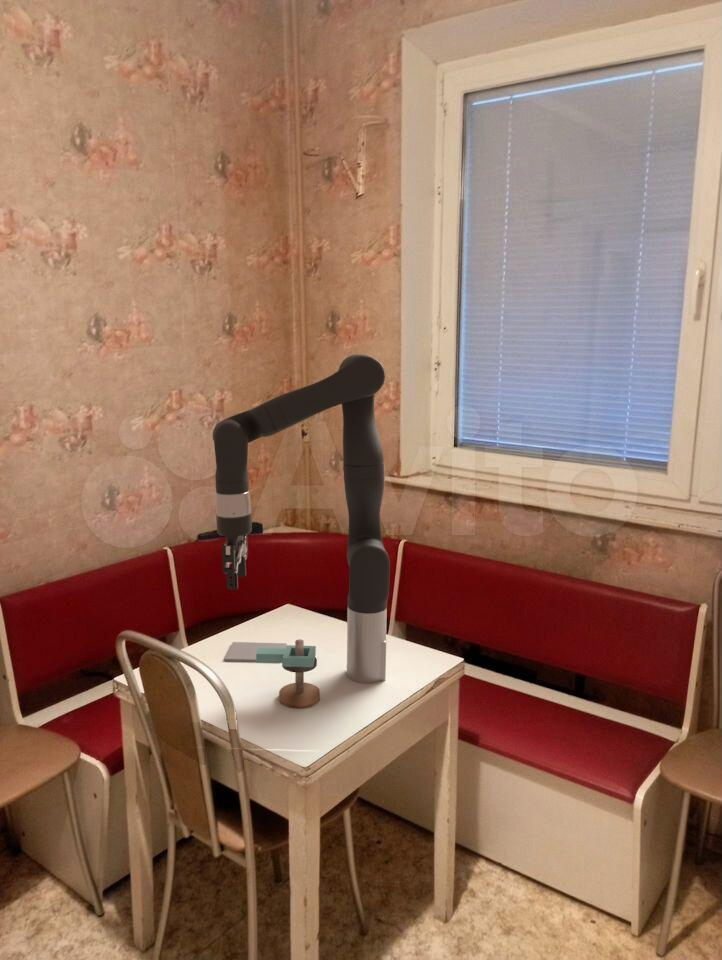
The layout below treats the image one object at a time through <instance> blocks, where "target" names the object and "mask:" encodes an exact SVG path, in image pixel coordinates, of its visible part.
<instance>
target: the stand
mask: <svg viewBox="0 0 722 960" xmlns="http://www.w3.org/2000/svg"><path fill="white" fill-rule="evenodd" d="M294 644H295V656H304V646H305V642H304V640H303V639H296V640H295V643H294ZM317 661H318V659H317V657H316V656H315V660H314V665H313V667H283V663H281V665H282V666H281V667H282V668H283V670H285V671H288V672H290V673H295V674H294V675H295V676H294V677H295V678H294V679H295V680H294V681H295V682H293V683H292V682H291V683H288V684H286V685H284V686H282V687H281V688H280V690H279V692H278V701H279V703H280V704H281V705H283V706H285V707H287V708H290V709H297V710H298V709H306V708H311V707H313V706H315V705H317V704H319V702H320V699H321V691H320V689H319V687H318V686H316V685H315V684H314V683H313V684H312V683H309V682H304V679H305V678H304V676H305V675H304V674H305V673H306V672H309V671H313V670H314V669H315V668H317V666H318V662H317Z"/></svg>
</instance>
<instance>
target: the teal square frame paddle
mask: <svg viewBox="0 0 722 960" xmlns="http://www.w3.org/2000/svg"><path fill="white" fill-rule="evenodd" d="M316 647H317V646H316V645H304V656H295V645H291V644H290V645H289V644H287V646H286V649H282V648H258V651H257V653H256V662H255V663H261V664H262V663H263V664H264V663H267V664H268V663H270V664H274V663H275V664H282V663H283V667H313V665H314V660H315V657H316V655H317V654H316V653H317V652H316V650H317V649H316ZM283 667H282V668H283Z"/></svg>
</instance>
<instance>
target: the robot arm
mask: <svg viewBox="0 0 722 960" xmlns="http://www.w3.org/2000/svg"><path fill="white" fill-rule="evenodd" d="M338 367H339V368H338V369H337V370H338V371H336V372H334V373H333V374H331V375H330V376H327V377H325V378H324V379H321V380H318V381H317V382H315V383H312V384H309V385H307V386H302V387H301V388H297V389H294V390H292V391H289V392H285V393H282V394H280V395H278V396H276V397H274V398H271V399H269V400H267V401H264V402H263V403H261V404H259V405H257V406H255V407H253V408H251V409H249V410H246V411H243V412H239V413H237V414H235V415H231V416H229V417H226V418H224V419H222V420H220V421H219V422H218V423H217V424H216V425H215V426H214V427H213V431H212V440H213V447H214V456H215V458H214V459H215V465H216V466H215V467H216V469H215V475H214V476H215V477H214V479H215V516H216V517H215V518H216V519H215V521H216V532H217V534H218V535H219V536H221V537H225V538H226V539H225V541H226V542H224V545H222V547H221V550H222V553H221V555H222V573H223V574H226V584H227V585H226V587H227V590H229V591H236V590H238V589H239V580H238V579H239V578H245V577H246V576H247V563H246V560H247V558H248V554H249V550H248V549H249V546H248V534H251V532H252V531H253V528H252V527H253V524H252V504H251V503H252V502H251V495H250V486H249V485H250V484H249V481H250V480H249V472H248V458H249V457H248V455H249V450H248V449H249V448H248V447H249V443H251V442H254V441H256V440H258V439H260V438H267V437H271V436H273V435H276V434H277V433H280V432H283V431H285V430H287V429H288V428H291V427H294V426H295V425H297V424H299V423H301V422H303V421H305V420H308V419H309V418H311V417H313V416H315V415H317V414H319V413H322V412H324V411H327V410H329V409H332V408H333V407H336V406H340V405H341V410H342V421H343V422H342V423H343V424H342V425H343V427H342V464H343V465H342V468H343V482H344V483H343V484H344V493H345V499H346V500H345V501H346V507H347V512H348V533H347V534H348V537H347V538H348V539H347V550H346V560H347V561H346V562H347V564H348V567H349V580H348V581H349V585H348V586H349V587H348V588H349V589H348V595H347V614H346V615H347V616H346V617H347V618H346V619H347V622H346V623H347V626H346V627H347V630H346V636H347V637H346V676H347V678H348V679H349V680H350V681H353V682H355V683H359V684H360V683H361V684H373V683H377V682H383V681H386V674H387V673H386V671H387V670H386V669H387V668H386V667H387V620H388V619H387V615H388V614H387V613H388V611H387V610H388V599H389V595H390V575H391V563H390V562H391V561H390V556H389V554H388V552H387V550H386V549H385V546H384V543H383V536H382V529H381V528H382V527H381V516H380V514H381V507H382V503H383V502H382V501H383V497H384V496H383V495H384V487H385V464H384V463H385V462H384V461H385V460H384V452H383V445H382V442H381V438H380V434H379V430H378V427H377V424H376V417H375V394H377V393H378V392H379V391H380V390H381V389H382V388H383V386H384V383H385V381H386V380H385V379H386V371H385V368H384V366H383V364H382V363H381V362H380V361H379V360H378V359H377V358H375V357H373V356H371V355H369V354H352V355H349V356H347V357H346V358H345V359H343V360H342V362H341V364H340V365H339V366H338ZM230 565H231V567H230Z"/></svg>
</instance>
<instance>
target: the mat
mask: <svg viewBox="0 0 722 960" xmlns="http://www.w3.org/2000/svg"><path fill="white" fill-rule="evenodd" d="M287 645H288V644H287V643H286V642H250V641H249V642H247V641H246V642H245V641H232V643H231V645H230V647H229V649H228V652H227V653H226V655H225V658H224V662H246V663H247V662H248V663H257V662H256V653H257V651H258V648H282V649H286V646H287Z"/></svg>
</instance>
